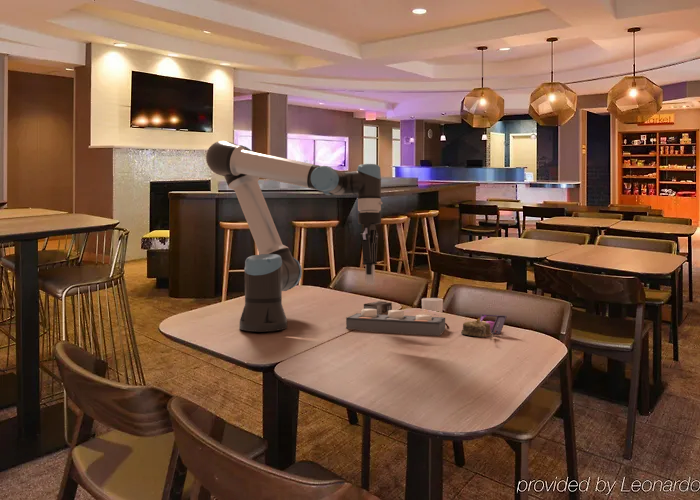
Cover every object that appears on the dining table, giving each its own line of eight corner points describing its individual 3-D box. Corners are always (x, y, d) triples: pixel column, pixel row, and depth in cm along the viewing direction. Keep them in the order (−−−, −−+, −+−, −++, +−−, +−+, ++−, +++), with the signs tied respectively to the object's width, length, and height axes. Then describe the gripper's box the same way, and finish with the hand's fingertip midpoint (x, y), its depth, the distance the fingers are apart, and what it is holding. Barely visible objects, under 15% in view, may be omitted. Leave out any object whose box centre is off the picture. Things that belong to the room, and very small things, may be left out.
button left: (359, 320, 180) (359, 310, 180) (364, 317, 184) (364, 308, 184) (374, 320, 178) (374, 310, 178) (378, 318, 183) (378, 309, 183)
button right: (414, 326, 174) (414, 316, 174) (417, 324, 179) (417, 314, 179) (429, 327, 172) (429, 317, 172) (432, 325, 177) (432, 315, 177)
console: (346, 330, 178) (346, 317, 178) (356, 325, 188) (356, 312, 188) (439, 335, 168) (439, 322, 168) (445, 329, 179) (445, 317, 179)
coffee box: (379, 344, 206) (378, 300, 206) (393, 346, 202) (392, 302, 201) (363, 348, 199) (362, 303, 199) (377, 350, 195) (376, 304, 194)
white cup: (419, 324, 210) (420, 297, 210) (440, 324, 210) (440, 298, 210) (423, 327, 202) (423, 300, 202) (444, 327, 202) (444, 300, 202)
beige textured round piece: (458, 337, 168) (458, 319, 168) (463, 331, 177) (463, 315, 177) (492, 339, 164) (492, 321, 164) (495, 333, 174) (495, 316, 173)
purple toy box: (498, 332, 170) (473, 330, 177) (505, 341, 173) (480, 339, 180) (505, 314, 174) (480, 312, 180) (512, 323, 176) (487, 322, 183)
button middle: (386, 321, 177) (386, 311, 177) (390, 319, 182) (390, 309, 181) (401, 322, 175) (401, 312, 175) (405, 320, 180) (405, 310, 180)
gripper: (375, 211, 173) (375, 286, 174) (385, 212, 185) (386, 283, 186) (352, 211, 175) (352, 285, 176) (364, 213, 188) (365, 282, 188)
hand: (370, 284), depth 181 cm, fingers closed
